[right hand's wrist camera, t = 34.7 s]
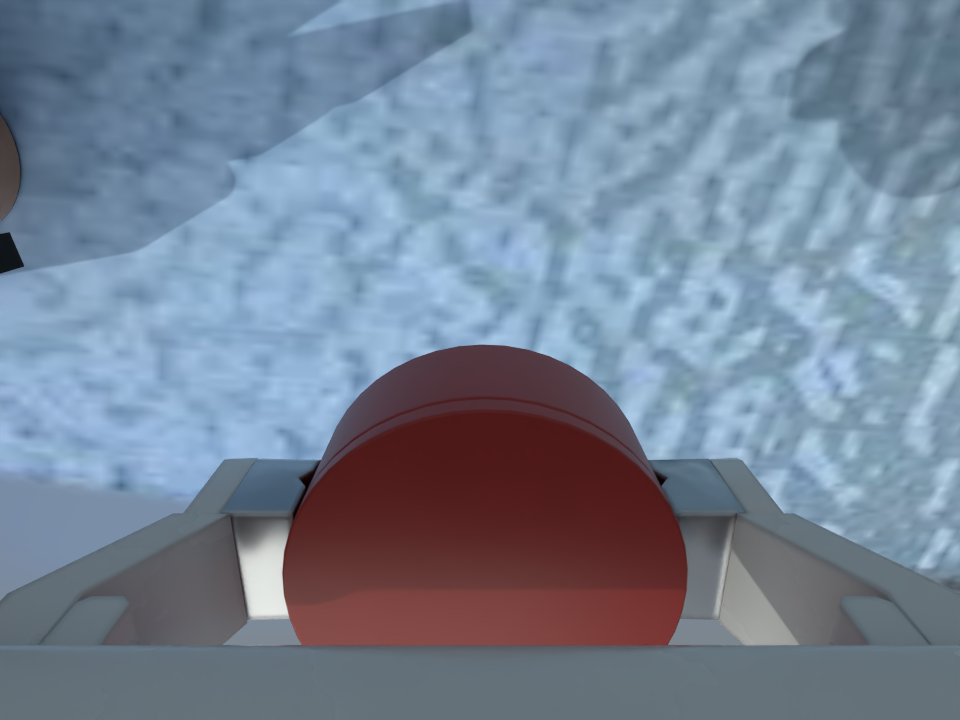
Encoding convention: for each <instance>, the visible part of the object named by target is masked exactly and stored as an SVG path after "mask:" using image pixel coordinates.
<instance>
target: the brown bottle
mask: <svg viewBox="0 0 960 720" xmlns="http://www.w3.org/2000/svg"><path fill="white" fill-rule="evenodd" d="M19 186H20V162H19V156H18V152H17V148H16V145H15V142H14V139H13V137H12V134H11V132H10V130H9V128H8V126H7V124H6V122H5V120H4V119H3V117H2V116H1V114H0V222H1V221H2V220H3V219H4V218H5V216H6V215H7V214H8V213H9V211H10V210H11V208H12V207H13V205H14V202H15V200H16V198H17V194H18V190H19Z"/></svg>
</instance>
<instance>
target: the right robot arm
mask: <svg viewBox="0 0 960 720" xmlns="http://www.w3.org/2000/svg"><path fill="white" fill-rule="evenodd" d="M648 461H649V463H650V465H651V467H652V469H653V471H654V473H655V476H656V478H657V480H658V482H659V484H660V486H661V488H662V490H663V492H664V494H665V496H666V498H667V500H668V502H669V504H670V506H671V508H672V510H673V512H674V514H675V517H676V519H677V521H678V523H679V525H680V529H681V532H682V536H683V539H684V543H685V546H686V555H687V563H688V579H687V592H686V597H685V602H684V607H683V612H682V614H681V617H680V619H709V620H719V623H720V624H721V625H723V626H724V627H725V628H726V629H727V630H728V631H729V632H730V633H732V634H733V635H734V636H735V637H736V638H737V639H738V640H740V641H741V642H742V643H743V644H744V645H223V644H224V643H225V642H226V641H227V640H228V639H230V638H231V637H232V636H233V635H234V634H235V633H236V632H237V631H239V630H240V629H241V628H242V627H243V626H244V625H245V624H246V623H247V620H257V619H290V618H289V615H288V610H287V606H286V602H285V598H284V591H283V578H282V569H283V557H284V549H285V546H286V542H287V538H288V534H289V530H290V527H291V525H292V523H293V521H294V518H295V516H296V514H297V511H298V509H299V507H300V505H301V503H302V500H303V498H304V496H305V494H306V492H307V490H308V487H309V485H310V483H311V481H312V479H313V477H314V475H315V472H316V470H317V468H318V466H319V464H320V462H321V460H299V459H258V458H242V459H226V460H224V461H223V462H222V463H221V464H220V466H219V467H218V468H217V470H216V471H215V472H214V474H213V475H212V476H211V477H210V479H209V480H208V481H207V483H206V484H205V485H204V487H203V488H202V489H201V491H200V492H199V493H198V494H197V496H196V497H195V498H194V500H193V501H192V502H191V504H190V505H189V506H188V508H187V509H186V510H185V511H184V513H183V514H171V515H169V516H167V517H165V518H163V519H161V520H159V521H157V522H155V523H152V524H150V525H148V526H146V527H144V528H142V529H140V530H138V531H136V532H134V533H132V534H130V535H128V536H126V537H124V538H121V539H119V540H117V541H115V542H113V543H111V544H109V545H107V546H105V547H103V548H101V549H99V550H97V551H95V552H93V553H90V554H88V555H86V556H84V557H82V558H80V559H78V560H76V561H74V562H72V563H70V564H68V565H66V566H64V567H62V568H59V569H57V570H55V571H53V572H51V573H49V574H47V575H45V576H43V577H41V578H39V579H37V580H35V581H33V582H30V583H29V584H26V585H24V586H22V587H20V588H18V589H16V590H14V591H12V592H10V593H8V594H7V595H6V596H5V597H4V598H3V599H2V600H1V601H0V720H960V593H958V592H956V591H954V590H952V589H950V588H948V587H946V586H944V585H941V584H939V583H937V582H935V581H933V580H931V579H929V578H927V577H925V576H923V575H921V574H919V573H916V572H914V571H912V570H910V569H908V568H906V567H904V566H902V565H900V564H898V563H896V562H894V561H892V560H889V559H887V558H885V557H883V556H881V555H879V554H877V553H875V552H873V551H871V550H869V549H867V548H864V547H862V546H860V545H858V544H856V543H854V542H852V541H850V540H848V539H846V538H844V537H842V536H839V535H837V534H835V533H833V532H831V531H829V530H827V529H825V528H823V527H821V526H819V525H817V524H815V523H812V522H810V521H808V520H806V519H804V518H802V517H800V516H798V515H796V514H784V513H783V512H782V511H781V509H780V508H779V507H778V505H777V504H776V503H775V502H774V500H773V499H772V498H771V497H770V495H769V494H768V493H767V491H766V490H765V489H764V488H763V486H762V485H761V484H760V483H759V481H758V480H757V479H756V478H755V476H754V475H753V474H752V472H751V471H750V470H749V469H748V467H747V466H746V465H745V464H744V462H743V461H742V460H740V459H737V458H724V459H678V460H648Z"/></svg>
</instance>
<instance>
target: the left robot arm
mask: <svg viewBox="0 0 960 720" xmlns="http://www.w3.org/2000/svg"><path fill="white" fill-rule="evenodd" d="M20 267H24V265H23V262H22V260H21V258H20V255H19V253H18V251H17V248H16V246H15V244H14V241H13V239H12V237H11V234H10V232H8V233H3V234H0V273H4V272H7V271H10V270H14V269H17V268H20Z"/></svg>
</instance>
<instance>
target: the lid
mask: <svg viewBox="0 0 960 720" xmlns="http://www.w3.org/2000/svg"><path fill="white" fill-rule="evenodd" d="M282 578H283V591H284V598H285V602H286V606H287V610H288V615H289V618H290V620H291V623H292V625H293V628H294V630H295V633H296V635H297V637H298V639H299V641H300V642H301V644H302V645H668V643H669V641H670V640H671V638H672V636H673V634H674V632H675V630H676V628H677V625H678V622H679V620H680V617H681V614H682V612H683V607H684V602H685V597H686V592H687V579H688V563H687V555H686V546H685V543H684V539H683V536H682V532H681V529H680V525H679V523H678V521H677V519H676V517H675V514H674V512H673V510H672V508H671V506H670V504H669V502H668V500H667V498H666V496H665V494H664V492H663V490H662V488H661V486H660V484H659V482H658V480H657V478H656V476H655V473H654V471H653V469H652V467H651V465H650V463H649V461H648V459H647V457H646V455H645V453H644V451H643V449H642V447H641V445H640V443H639V441H638V439H637V437H636V435H635V433H634V431H633V429H632V427H631V425H630V423H629V421H628V420H627V418H626V417H625V415H624V414H623V412H622V411H621V409H620V408H619V406H618V405H617V404H616V403H615V402H614V401H613V400H612V398H611V397H610V396H609V395H608V394H607V393H606V392H605V391H604V390H603V389H602V388H601V387H599V386H598V385H597V384H596V383H595V382H593V381H592V380H591V379H590V378H589V377H587V376H586V375H584V374H582V373H581V372H579V371H578V370H576V369H574V368H573V367H571V366H569V365H567V364H565V363H563V362H561V361H558V360H556V359H554V358H552V357H550V356H547V355H543V354H540V353H537V352H533V351H530V350H526V349H521V348H515V347H509V346H499V345H471V346H458V347H453V348H448V349H444V350H439V351H435V352H432V353H429V354H426V355H423V356H420V357H417V358H414V359H412V360H410V361H408V362H406V363H404V364H402V365H400V366H398V367H396V368H394V369H392V370H391V371H389V372H388V373H386V374H385V375H383V376H382V377H380V378H379V379H377V380H376V381H375V382H374V383H373V384H371V385H370V386H369V387H368V388H367V389H366V390H365V391H364V392H362V393H361V394H360V395H359V397H358V398H357V399H356V400H355V401H354V402H353V404H352V405H351V406H350V407H349V408H348V409H347V411H346V412H345V414H344V416H343V417H342V419H341V420H340V422H339V424H338V425H337V427H336V429H335V431H334V433H333V436H332V438H331V440H330V442H329V444H328V446H327V449H326V451H325V453H324V455H323V457H322V459H321V462H320V464H319V466H318V468H317V470H316V472H315V475H314V477H313V479H312V481H311V483H310V485H309V487H308V490H307V492H306V494H305V496H304V498H303V500H302V503H301V505H300V507H299V509H298V511H297V514H296V516H295V518H294V521H293V523H292V525H291V527H290V530H289V534H288V538H287V542H286V546H285V549H284V557H283V569H282Z"/></svg>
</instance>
